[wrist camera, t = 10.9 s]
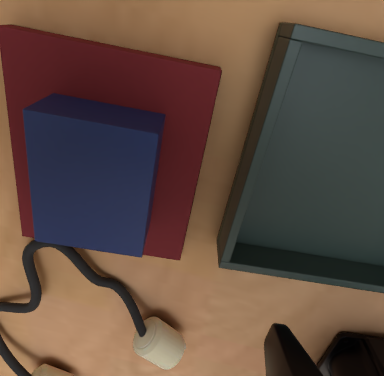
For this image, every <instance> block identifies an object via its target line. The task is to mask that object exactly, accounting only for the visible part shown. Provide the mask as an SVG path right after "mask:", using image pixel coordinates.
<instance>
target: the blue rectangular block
mask: <svg viewBox="0 0 384 376" xmlns="http://www.w3.org/2000/svg"><path fill="white" fill-rule="evenodd" d="M165 116H166V115H165V114H161V113H156V112H151V111H145V110H140V109H135V108H130V107H124V106H119V105H114V104H108V103H103V102H98V101H93V100H87V99H82V98H77V97H71V96H66V95H61V94H56V93H53V94H51V95H49V96H47V97H45V98H43V99H41V100H39V101H37V102H35V103H33V104H31V105H30V106H28V107H26V108H24V109H23V120H24V131H25V141H26V152H27V163H28V174H29V184H30V195H31V206H32V216H33V227H34V238H35V241H38V242H44V243H51V244H57V245H64V246H70V247H77V248H83V249H90V250H96V251H103V252H109V253H116V254H122V255H129V256H135V257H142V255H143V251H144V247H145V243H146V238H147V234H148V230H149V226H150V220H151V213H152V206H153V199H154V193H155V186H156V179H157V172H158V165H159V158H160V151H161V144H162V137H163V130H164V123H165Z"/></svg>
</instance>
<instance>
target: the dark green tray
mask: <svg viewBox="0 0 384 376" xmlns="http://www.w3.org/2000/svg"><path fill="white" fill-rule="evenodd" d="M217 251H218V264H219V268H225V269H231V270H237V271H244V272H250V273H257V274H263V275H270V276H276V277H283V278H289V279H296V280H302V281H308V282H315V283H321V284H328V285H334V286H341V287H347V288H354V289H360V290H367V291H373V292H380V293H384V42H379V41H375V40H370V39H365V38H361V37H356V36H352V35H347V34H342V33H338V32H333V31H329V30H324V29H320V28H315V27H310V26H306V25H301V24H297V23H283V22H281V23H280V24H279V27H278V30H277V34H276V37H275V41H274V44H273V48H272V51H271V55H270V58H269V61H268V65H267V68H266V72H265V75H264V79H263V82H262V86H261V89H260V92H259V96H258V99H257V103H256V106H255V110H254V113H253V117H252V120H251V123H250V127H249V130H248V134H247V137H246V141H245V144H244V148H243V151H242V155H241V158H240V161H239V165H238V168H237V172H236V175H235V179H234V182H233V186H232V189H231V192H230V196H229V199H228V203H227V206H226V210H225V213H224V217H223V220H222V223H221V227H220V230H219V234H218V237H217Z"/></svg>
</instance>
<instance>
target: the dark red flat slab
mask: <svg viewBox="0 0 384 376" xmlns="http://www.w3.org/2000/svg"><path fill="white" fill-rule="evenodd" d="M0 51H1V59H2V67H3V76H4V84H5V93H6V101H7V110H8V118H9V127H10V135H11V144H12V152H13V160H14V169H15V177H16V186H17V194H18V203H19V211H20V220H21V228H22V236H26V237H32V238H34V227H33V216H32V206H31V195H30V184H29V174H28V163H27V152H26V141H25V131H24V120H23V109H24V108H26V107H28V106H30V105H31V104H33V103H35V102H37V101H39V100H41V99H43V98H45V97H47V96H49V95H51V94H53V93H56V94H61V95H66V96H71V97H77V98H82V99H87V100H93V101H98V102H103V103H108V104H114V105H119V106H124V107H130V108H135V109H140V110H145V111H151V112H156V113H161V114H165V115H166V116H165V123H164V130H163V137H162V144H161V151H160V158H159V165H158V172H157V179H156V186H155V193H154V199H153V206H152V213H151V220H150V226H149V230H148V234H147V238H146V243H145V247H144V251H143V255H148V256H155V257H161V258H167V259H174V260H180V258H181V253H182V249H183V244H184V240H185V235H186V231H187V226H188V222H189V217H190V213H191V208H192V204H193V199H194V195H195V190H196V186H197V181H198V177H199V172H200V168H201V163H202V159H203V154H204V150H205V145H206V141H207V136H208V132H209V127H210V123H211V118H212V114H213V109H214V105H215V100H216V96H217V91H218V87H219V82H220V78H221V73H222V70H221V68H220V67H217V66H212V65H207V64H202V63H197V62H192V61H188V60H183V59H178V58H173V57H168V56H163V55H158V54H153V53H148V52H143V51H138V50H133V49H129V48H124V47H119V46H114V45H109V44H104V43H99V42H94V41H89V40H84V39H79V38H74V37H70V36H65V35H60V34H55V33H50V32H45V31H40V30H35V29H30V28H25V27H20V26H15V25H0Z"/></svg>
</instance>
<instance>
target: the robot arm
mask: <svg viewBox="0 0 384 376" xmlns="http://www.w3.org/2000/svg"><path fill="white" fill-rule="evenodd" d="M264 351H265V366H266V376H384V338H380V337H373V336H366V335H359V334H352V333H345V332H343V333H340V334H338V336H337V337H336V338H335V340H334V341H333V343H332V344H331V346H330V347H329V349H328V350H327V352H326V353H325V355H324V356H323V358H322V359H321V360H320V362H319V363H318V365H317V366H316V364H315V363H314V362H313V360H312V359H311V358H310V356H309V355H308V354H307V352H306V351H305V349H304V348H303V347H302V345H301V344H300V343H299V341H298V340H297V339H296V337H295V336H294V334H293V333H292V332H291V330H290V329H289V328H288V327H287V326H286V325H284V324H277V323H274V324H272V326H271V328H270V330H269V332H268V334H267V336H266V338H265V342H264Z"/></svg>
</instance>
